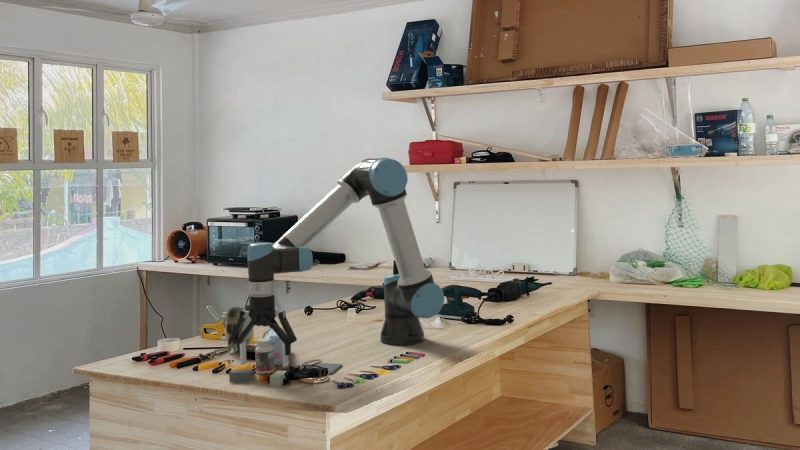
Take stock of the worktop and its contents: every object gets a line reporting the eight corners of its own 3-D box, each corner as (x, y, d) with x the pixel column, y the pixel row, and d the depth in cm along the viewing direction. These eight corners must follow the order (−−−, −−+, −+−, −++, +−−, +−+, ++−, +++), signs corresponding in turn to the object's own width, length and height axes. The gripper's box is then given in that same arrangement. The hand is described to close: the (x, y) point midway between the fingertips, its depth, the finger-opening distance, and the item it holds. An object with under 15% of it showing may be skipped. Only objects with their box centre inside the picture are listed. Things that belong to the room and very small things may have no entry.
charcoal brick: (229, 382, 233) (229, 372, 233) (233, 379, 236) (232, 369, 236) (249, 382, 233) (249, 372, 232) (253, 379, 236) (252, 369, 235)
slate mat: (311, 364, 250) (311, 362, 250) (342, 365, 248) (342, 363, 248) (299, 373, 241) (299, 371, 241) (331, 374, 238) (331, 372, 238)
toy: (243, 355, 266) (264, 339, 286) (241, 309, 264) (261, 296, 284) (219, 355, 268) (241, 339, 287) (216, 309, 266) (238, 296, 286)
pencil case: (262, 352, 269) (261, 323, 268) (288, 350, 271) (287, 322, 270) (262, 367, 249) (261, 337, 248) (291, 366, 250) (290, 335, 249)
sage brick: (277, 380, 234) (277, 370, 234) (287, 381, 233) (286, 370, 233) (270, 386, 228) (269, 376, 228) (280, 387, 227) (279, 376, 227)
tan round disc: (306, 375, 238) (306, 372, 238) (332, 376, 236) (332, 373, 236) (296, 382, 230) (296, 380, 230) (323, 384, 228) (323, 381, 228)
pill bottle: (252, 373, 242) (251, 341, 241) (262, 368, 247) (260, 337, 246) (267, 374, 240) (266, 342, 239) (277, 370, 245) (276, 338, 244)
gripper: (217, 296, 241) (220, 366, 243) (296, 297, 235) (298, 369, 237) (229, 291, 248) (231, 360, 250) (305, 293, 242) (308, 363, 244)
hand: (264, 365), depth 243 cm, fingers open, 13 cm apart
